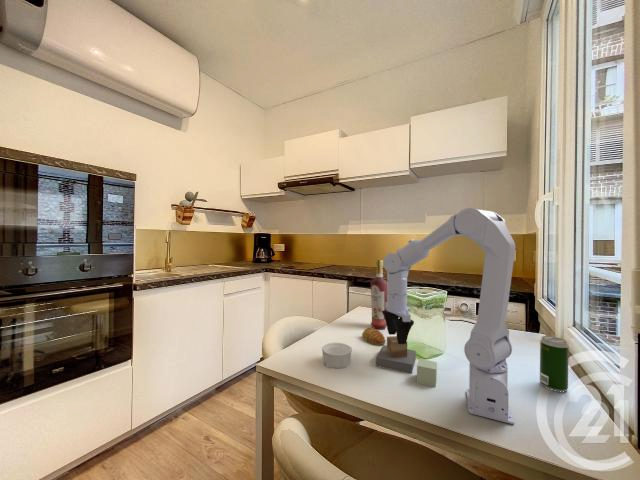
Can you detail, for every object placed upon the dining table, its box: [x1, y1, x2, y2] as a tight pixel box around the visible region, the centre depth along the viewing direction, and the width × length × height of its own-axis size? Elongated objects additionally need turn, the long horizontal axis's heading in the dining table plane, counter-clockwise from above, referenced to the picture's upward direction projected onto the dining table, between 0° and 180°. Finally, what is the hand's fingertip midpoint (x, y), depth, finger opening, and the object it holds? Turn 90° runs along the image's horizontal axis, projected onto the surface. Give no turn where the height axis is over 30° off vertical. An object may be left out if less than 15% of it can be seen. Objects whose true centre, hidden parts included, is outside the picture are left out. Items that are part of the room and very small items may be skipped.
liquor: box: [370, 259, 387, 330], centre depth 112 cm, size 7×7×28 cm
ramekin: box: [321, 342, 353, 369], centre depth 80 cm, size 9×9×4 cm
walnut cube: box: [386, 335, 408, 358], centre depth 80 cm, size 4×4×4 cm
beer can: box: [539, 335, 570, 393], centre depth 68 cm, size 5×5×12 cm
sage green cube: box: [416, 358, 438, 388], centre depth 70 cm, size 4×4×4 cm
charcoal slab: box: [375, 344, 417, 374], centre depth 80 cm, size 10×10×3 cm
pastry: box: [361, 327, 387, 346], centre depth 97 cm, size 9×7×4 cm
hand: (396, 338), depth 80 cm, fingers open, 7 cm apart
